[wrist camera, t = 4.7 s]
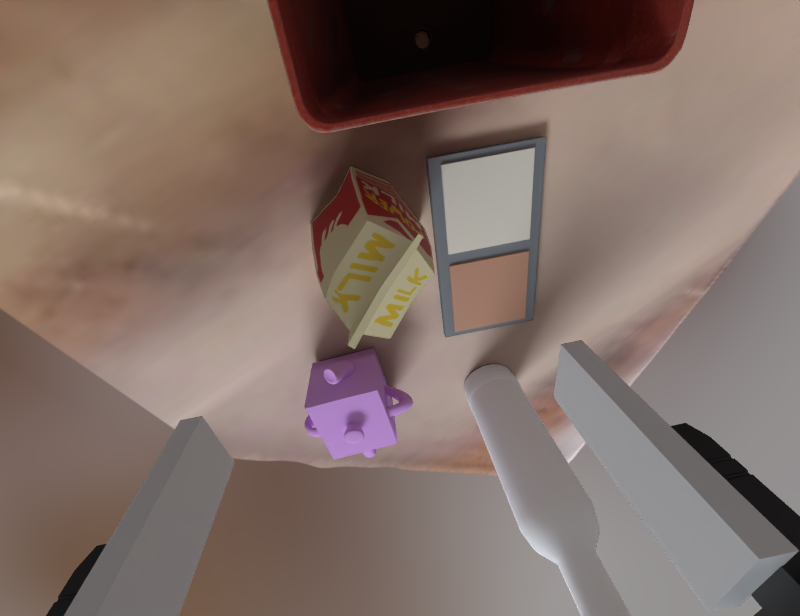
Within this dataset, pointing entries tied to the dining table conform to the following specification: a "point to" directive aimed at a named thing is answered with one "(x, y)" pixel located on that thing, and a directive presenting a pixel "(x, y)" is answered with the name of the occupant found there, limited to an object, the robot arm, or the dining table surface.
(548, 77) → the plant pot
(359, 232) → the milk carton
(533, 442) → the bottle
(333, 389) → the purple boxy tea kettle
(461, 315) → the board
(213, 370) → the dining table surface
